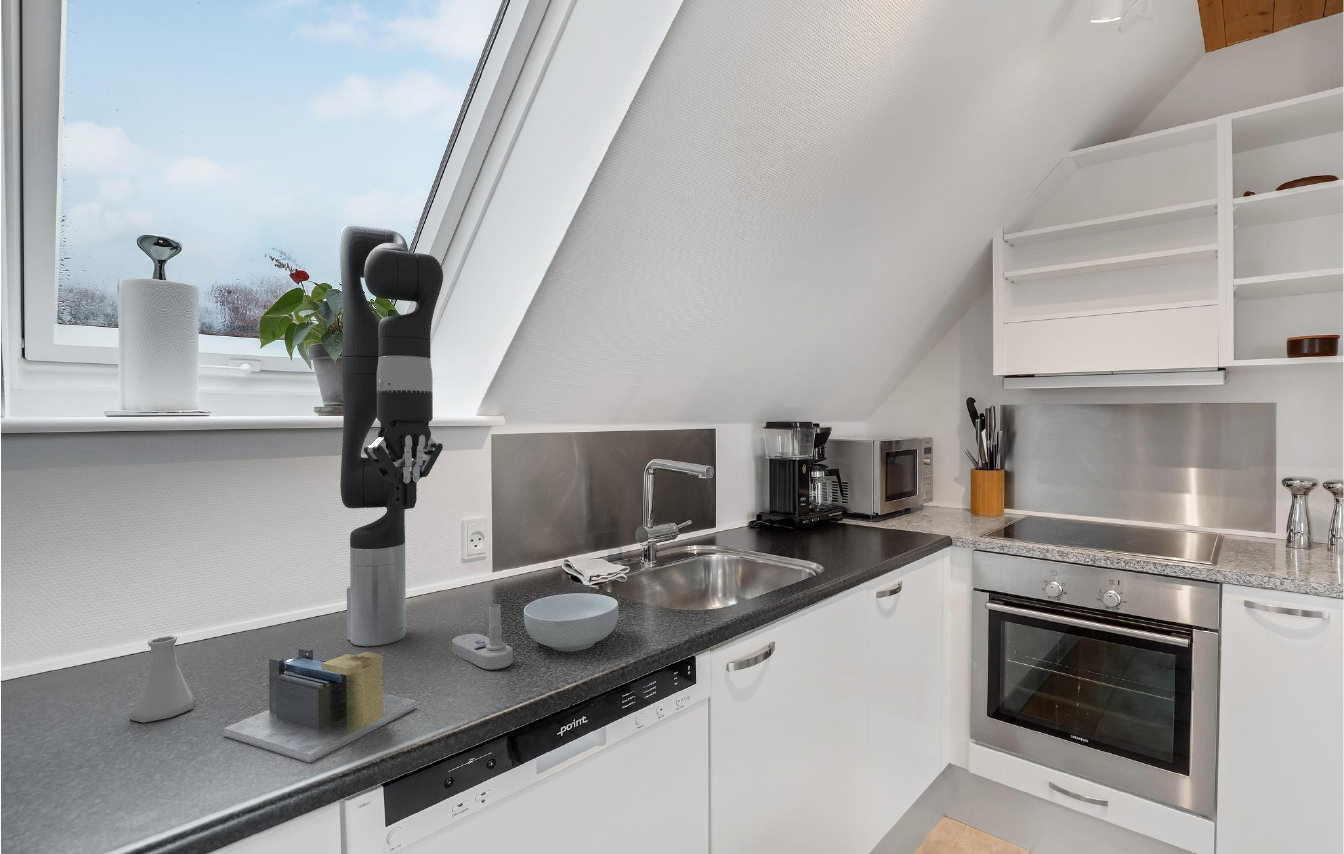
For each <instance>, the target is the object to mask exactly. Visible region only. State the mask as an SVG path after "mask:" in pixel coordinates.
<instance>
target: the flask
mask: <svg viewBox="0 0 1344 854" xmlns="http://www.w3.org/2000/svg"><path fill="white" fill-rule="evenodd" d="M177 641H178V636H176V635H172V634H171V635H165V636H164V635H163V636H157V637H154V638H151V639H149V640H148V643H147V645H148V647H150V659H149V664H148V670H147V672H146V675H145V678H144V681H143V684H142V686H141V689H140V692H139V694H138V698H137V699H136V702H135V704H134V706H133V710H132V711H131V714H130V717H129V720H131V721H136V722H139V723H140V722H141V723H148V722H154V721H158V720H159V721H160V720H163V719H169V718H173V717H175V716H178V715H180V714H183V713H186V712H188V711H190V710H193V709H194V708H195V703H196V700H195V698H194V696H193V694H192V692H191V690H190V688H189V685H188V684H187V681H186V680H185V677H184V675H183V674H182V671H181V668H180V666H179V664H178V660H177V656H176V651H175V649H176V648H175V644H176V643H177Z"/></svg>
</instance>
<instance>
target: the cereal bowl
mask: <svg viewBox="0 0 1344 854" xmlns="http://www.w3.org/2000/svg"><path fill="white" fill-rule="evenodd" d="M618 619H619V602H618V600H617V599H616V598H614V597H611V596H608V595H605V594H604V595H603V594H599V593H585V592H582V593H576V592H575V593H564V594H555V595H550V596H546V597H542V598H538V599H535V600H534V601H531V602H529V603H528V604H526V605H525V607H524V608H523V622H524V628H525V630H526V633H528V636H529V637H530V638H531V639H533V640H534V641H535V642H536V643H539V644H540V645H544V646H545V647H546V646H547V647H549V648H551V649H553V650H555V651H558V652H576V651H577V652H579V651H583V650H586V649H589V648H591V647H593V646H594V645H595V643H597V642H600V641H602V640H604V639H605V638H607V636H609V635H610V634H611V633H612V632H613V630H614V629H615V628H616V625H617V623H618Z"/></svg>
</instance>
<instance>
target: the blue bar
mask: <svg viewBox="0 0 1344 854" xmlns="http://www.w3.org/2000/svg"><path fill="white" fill-rule="evenodd" d="M322 663H324V662H321V661H320V660H316V659H315V660H314V659H313V660H310V659H305V658H303V656H299V655H298V656H295V657H292V658H290V659H286V660H284V673H287V672H288V673H293V674H294V673H296V674H301V675H306V676H311V677H316V678H321V679H326V680H331V681H336V682H342V681H345V680H347V679H346V675H344V674H339V673H335V672H331V671H326V670H322Z"/></svg>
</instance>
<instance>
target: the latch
mask: <svg viewBox="0 0 1344 854" xmlns="http://www.w3.org/2000/svg"><path fill="white" fill-rule="evenodd" d="M383 659H384V658H383V654H381V653H376V652H370V651H364V652H361V653H359V654H356V655H355V654H351V653H346V654H343V655H341V656H338V657H336V658H332V659H329V661H327V662H324V663H322V670H326V671H331V672H335V673H339V674H344V675H346V679H347V723H349V724H353V725H356V726H360V727H365V726H367V725H369V724H371V723H373V722H375V721H377V720H379V719H381V718H383V693H384V689H383V688H384V687H383V686H384V685H383V684H384V681H383V680H384V679H383V678H384V675H383V674H384V673H383V672H384V671H383V668H384V667H383V666H384V665H383V664H384V663H383V662H384V661H383Z"/></svg>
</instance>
